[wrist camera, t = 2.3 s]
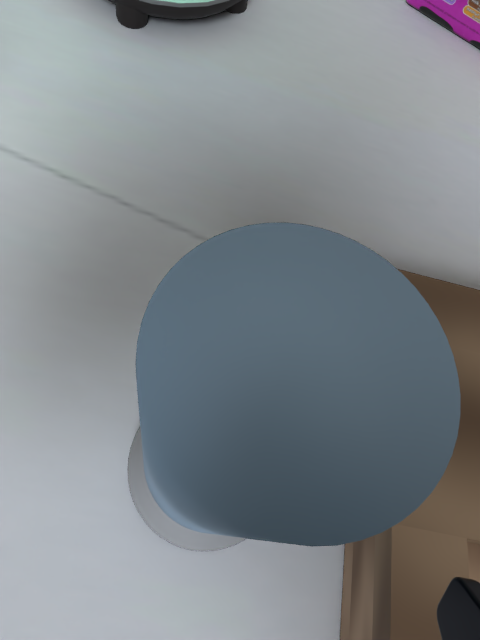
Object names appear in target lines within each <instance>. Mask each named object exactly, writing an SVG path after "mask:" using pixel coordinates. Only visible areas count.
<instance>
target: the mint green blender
mask: <svg viewBox="0 0 480 640" xmlns="http://www.w3.org/2000/svg"><path fill="white" fill-rule="evenodd" d="M109 1H111V2H113V3H116V15H117V19H118V21H119V22H120V23H121V24H122V25H124V26H125V27H128V28H132V29H137V28H141V27H144V26H145V25H146V24H147V21H148V15H150V16H154V17H163V18H171V19H191V18H202V17H206V16H210V15H214V14H218V13H220V12H222V11H224V10H226V11H228V12H231V13H241V12H244V11H245V10H246V7H247V1H248V0H109Z"/></svg>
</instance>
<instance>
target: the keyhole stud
mask: <svg viewBox="0 0 480 640" xmlns="http://www.w3.org/2000/svg"><path fill="white" fill-rule="evenodd" d="M136 377H137V391H138V403H139V415H140V427H139V429H138V431H137V433H136V435H135V437H134V440H133V443H132V446H131V449H130V454H129V458H128V483H129V488H130V493H131V496H132V499H133V502H134V504H135V506H136V508H137V510H138V512H139V514H140V515H141V517H142V518H143V520H144V521H145V523H146V524H147V525H148V526H149V527H150V528H151V529H152V530H153V531H154V532H155V533H156V534H157V535H159V536H160V537H161V538H163V539H164V540H166V541H168V542H169V543H171V544H173V545H176V546H178V547H180V548H184V549H188V550H193V551H215V550H221V549H225V548H228V547H231V546H234V545H236V544H238V543H239V542H241V541H243V540H245V539H246V538H248V539H256V540H264V541H272V542H279V543H287V544H296V545H305V546H333V545H341V544H346V543H351V542H356V541H361V540H363V539H366V538H369V537H371V536H374V535H377V534H379V533H382V532H384V531H385V530H387V529H389V528H391V527H392V526H394V525H396V524H398V523H399V522H401V521H402V520H404V519H405V518H406V517H407V516H409V515H410V514H411V513H412V512H413V511H415V510H416V509H417V508H418V507H419V506H420V505H421V504H422V503H423V502H424V501H425V499H426V498H427V497H428V496H429V495H430V494H431V493H432V491H433V490H434V488H435V487H436V485H437V484H438V482H439V481H440V479H441V477H442V476H443V474H444V472H445V470H446V468H447V465H448V463H449V461H450V459H451V457H452V454H453V450H454V447H455V443H456V440H457V436H458V429H459V422H460V398H461V395H460V387H459V378H458V373H457V368H456V364H455V360H454V356H453V353H452V350H451V348H450V345H449V342H448V339H447V337H446V335H445V333H444V331H443V329H442V327H441V325H440V323H439V321H438V319H437V317H436V316H435V314H434V312H433V311H432V309H431V308H430V306H429V304H428V303H427V302H426V300H425V299H424V298H423V296H422V295H421V294H420V293H419V291H418V290H417V289H416V288H415V286H414V285H413V284H412V283H411V282H410V281H409V280H408V279H407V278H406V277H405V276H404V275H403V274H402V273H401V272H400V271H399V270H397V269H396V268H395V267H394V266H393V265H392V264H390V263H389V262H388V261H387V260H385V259H384V258H382V257H381V256H379V255H378V254H377V253H375V252H374V251H372V250H371V249H369V248H367V247H365V246H363V245H362V244H360V243H358V242H356V241H354V240H352V239H350V238H347V237H345V236H343V235H340V234H338V233H335V232H332V231H329V230H325V229H322V228H318V227H313V226H308V225H304V224H294V223H262V224H255V225H248V226H244V227H240V228H236V229H232V230H229V231H227V232H224V233H222V234H219V235H217V236H214V237H213V238H211V239H209V240H207V241H205V242H203V243H202V244H200V245H198V246H197V247H196V248H194V249H193V250H191V251H190V252H189V253H187V254H186V255H185V256H184V257H183V258H181V259H180V260H179V261H178V262H177V263H176V264H175V265H174V266H173V267H172V268H171V269H170V271H169V272H168V273H167V275H166V276H165V277H164V278H163V280H162V281H161V282H160V284H159V285H158V287H157V289H156V291H155V292H154V294H153V296H152V298H151V300H150V301H149V304H148V306H147V309H146V312H145V314H144V317H143V319H142V323H141V327H140V332H139V336H138V341H137V352H136Z"/></svg>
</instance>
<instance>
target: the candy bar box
mask: <svg viewBox="0 0 480 640" xmlns="http://www.w3.org/2000/svg"><path fill="white" fill-rule="evenodd" d="M406 2H407V3H408V4H409V5H411V6H412V7H414V8H416V9H417V10H419V11H420V12H422V13H423V14H425V15H426V16H428V17H429V18H431V19H433V20H434V21H436V22H438V23H439V24H441V25H442V26H444V27H445V28H447V29H449V30H450V31H452V32H453V33H455V34H456V35H458V36H460V37H461V38H463V39H464V40H466V41H468V42H469V43H471V44H473V45H474V46H476V47H477V48H479V49H480V0H406Z"/></svg>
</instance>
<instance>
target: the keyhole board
mask: <svg viewBox="0 0 480 640" xmlns="http://www.w3.org/2000/svg"><path fill="white" fill-rule="evenodd" d="M397 270H399V269H397ZM399 271H400V272H401V273H402V274H403V275H404V276H405V277H406V278H407V279H408V280H409V281H410V282H411V283H412V284H413V285H414V286H415V288H416V289H417V290H418V291H419V293H420V294H421V295H422V296H423V298H424V299H425V300H426V302H427V303H428V304H429V306H430V308H431V309H432V311H433V312H434V314H435V316H436V317H437V319H438V321H439V323H440V325H441V327H442V329H443V331H444V333H445V335H446V337H447V339H448V342H449V345H450V348H451V350H452V353H453V356H454V360H455V364H456V368H457V373H458V378H459V387H460V395H461V398H460V422H459V429H458V436H457V440H456V443H455V447H454V450H453V454H452V457H451V459H450V461H449V463H448V465H447V468H446V470H445V472H444V474H443V476H442V477H441V479H440V481H439V482H438V484H437V485H436V487H435V488H434V490H433V491H432V493H431V494H430V495H429V496H428V497H427V498H426V499H425V501H424V502H423V503H422V504H421V505H420V506H419V507H418V508H417V509H416V510H415V511H413V512H412V513H411V514H410V515H409V516H407V517H406V518H405V519H404V520H402V521H401V522H399V523H398V524H396V525H394V526H392V527H391V528H389V529H387V530H385V531H384V532H382V533H379V534H377V535H374V536H371V537H369V538H366V539H363V540H361V541H356V542H351V543H346V544H345V554H344V573H343V591H342V609H341V628H340V640H442V638H441V634H440V630H439V625H438V621H437V606H438V604H439V602H440V600H441V598H442V596H443V594H444V593H445V591H446V589H447V587H448V585H449V583H450V581H451V580H452V579H453V578H455V577H462V578H468V579H473V580H476V581H478V582H479V583H480V290H477V289H473V288H469V287H465V286H461V285H457V284H454V283H450V282H446V281H442V280H438V279H434V278H430V277H426V276H422V275H419V274H415V273H411V272H407V271H403V270H399Z"/></svg>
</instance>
